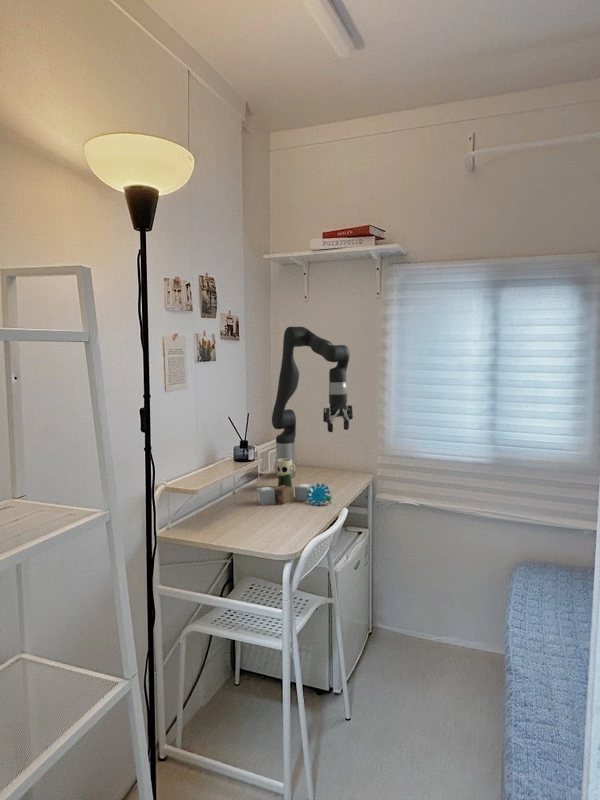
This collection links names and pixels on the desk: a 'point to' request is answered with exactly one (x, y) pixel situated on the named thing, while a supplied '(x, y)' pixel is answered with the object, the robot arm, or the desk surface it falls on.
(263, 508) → the desk surface
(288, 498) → the walnut block
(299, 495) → the grey block back
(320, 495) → the gear
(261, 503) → the grey block front
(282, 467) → the character mug
